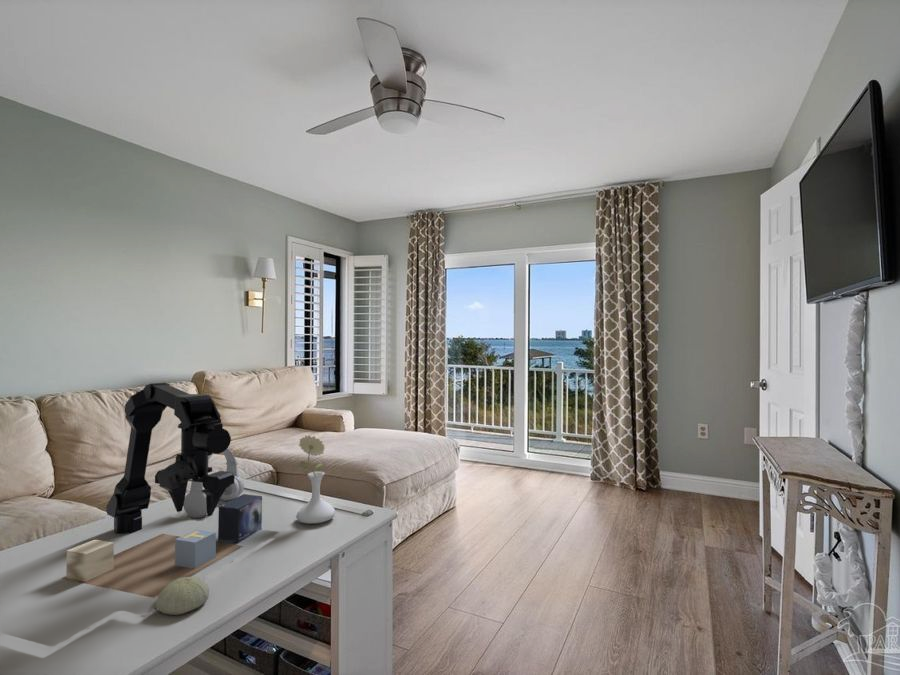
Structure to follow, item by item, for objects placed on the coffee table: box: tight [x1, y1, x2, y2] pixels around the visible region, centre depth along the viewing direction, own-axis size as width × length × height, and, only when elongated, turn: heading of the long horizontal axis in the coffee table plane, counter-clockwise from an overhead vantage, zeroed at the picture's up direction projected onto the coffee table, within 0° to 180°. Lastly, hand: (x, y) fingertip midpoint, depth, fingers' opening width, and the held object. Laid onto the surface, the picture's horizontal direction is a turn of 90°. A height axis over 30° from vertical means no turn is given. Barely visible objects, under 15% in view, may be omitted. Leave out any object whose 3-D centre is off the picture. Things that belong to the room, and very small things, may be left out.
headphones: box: [183, 447, 245, 519], centre depth 149 cm, size 20×8×19 cm, turn 172°
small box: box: [217, 493, 263, 544], centre depth 124 cm, size 11×6×10 cm, turn 168°
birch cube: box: [65, 539, 115, 582], centre depth 103 cm, size 6×6×6 cm
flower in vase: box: [295, 435, 336, 525], centre depth 138 cm, size 13×11×25 cm
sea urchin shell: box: [155, 576, 210, 616], centre depth 93 cm, size 9×8×8 cm
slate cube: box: [175, 529, 217, 569], centre depth 109 cm, size 6×6×6 cm
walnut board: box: [60, 533, 244, 599], centre depth 109 cm, size 27×25×1 cm
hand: (194, 513), depth 109 cm, fingers open, 9 cm apart
